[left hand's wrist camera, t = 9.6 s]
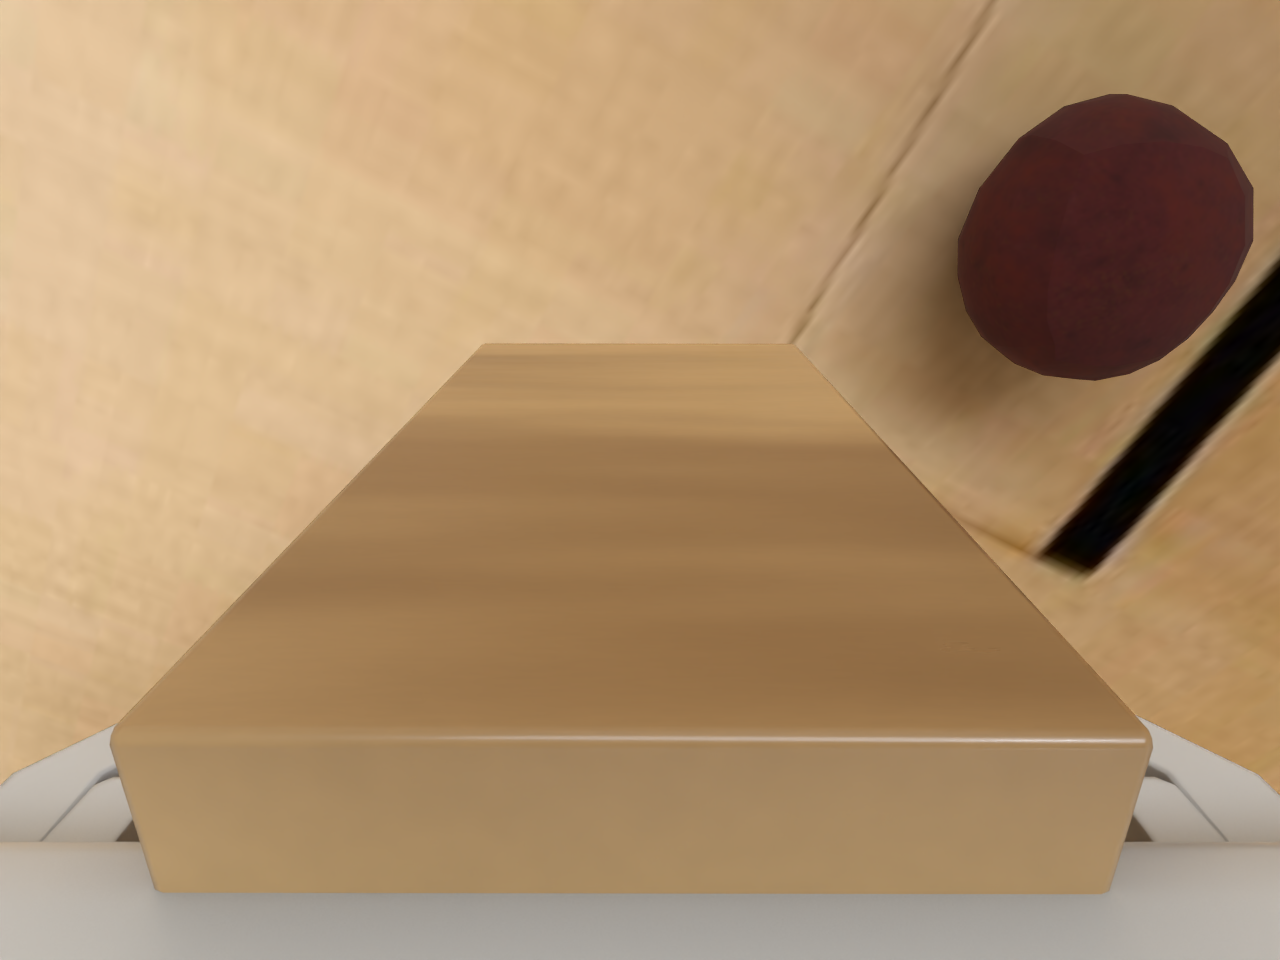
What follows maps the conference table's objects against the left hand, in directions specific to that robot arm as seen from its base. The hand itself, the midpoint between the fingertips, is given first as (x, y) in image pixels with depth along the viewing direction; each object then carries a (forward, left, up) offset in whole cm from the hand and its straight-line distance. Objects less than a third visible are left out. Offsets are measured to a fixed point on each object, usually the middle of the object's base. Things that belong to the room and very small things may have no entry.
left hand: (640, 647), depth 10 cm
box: (0, +9, -6) cm, 11 cm away
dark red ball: (-13, -4, -18) cm, 22 cm away
